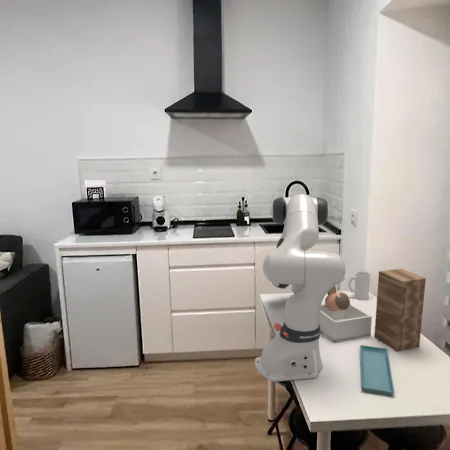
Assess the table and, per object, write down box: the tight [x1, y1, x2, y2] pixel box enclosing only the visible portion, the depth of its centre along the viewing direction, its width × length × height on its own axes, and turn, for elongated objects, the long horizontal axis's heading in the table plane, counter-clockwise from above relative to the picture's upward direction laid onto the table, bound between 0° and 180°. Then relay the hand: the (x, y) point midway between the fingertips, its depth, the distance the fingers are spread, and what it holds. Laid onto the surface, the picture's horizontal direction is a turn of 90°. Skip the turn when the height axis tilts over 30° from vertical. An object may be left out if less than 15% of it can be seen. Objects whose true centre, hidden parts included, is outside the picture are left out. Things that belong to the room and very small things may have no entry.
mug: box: [347, 271, 371, 301], centre depth 195 cm, size 10×7×12 cm, turn 92°
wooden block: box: [374, 268, 427, 352], centre depth 150 cm, size 10×12×26 cm
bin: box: [319, 303, 373, 343], centre depth 161 cm, size 16×16×8 cm
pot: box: [324, 285, 351, 312], centre depth 164 cm, size 16×7×7 cm
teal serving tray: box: [359, 344, 395, 396], centre depth 133 cm, size 26×9×2 cm, turn 163°
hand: (330, 275), depth 166 cm, fingers closed on pot, 3 cm apart
